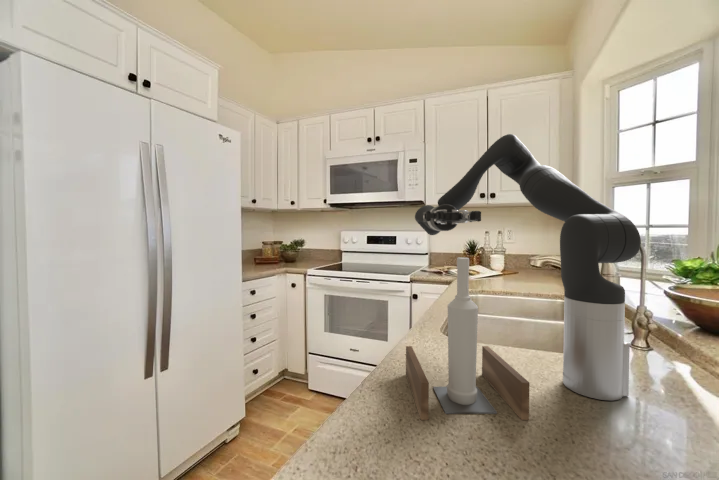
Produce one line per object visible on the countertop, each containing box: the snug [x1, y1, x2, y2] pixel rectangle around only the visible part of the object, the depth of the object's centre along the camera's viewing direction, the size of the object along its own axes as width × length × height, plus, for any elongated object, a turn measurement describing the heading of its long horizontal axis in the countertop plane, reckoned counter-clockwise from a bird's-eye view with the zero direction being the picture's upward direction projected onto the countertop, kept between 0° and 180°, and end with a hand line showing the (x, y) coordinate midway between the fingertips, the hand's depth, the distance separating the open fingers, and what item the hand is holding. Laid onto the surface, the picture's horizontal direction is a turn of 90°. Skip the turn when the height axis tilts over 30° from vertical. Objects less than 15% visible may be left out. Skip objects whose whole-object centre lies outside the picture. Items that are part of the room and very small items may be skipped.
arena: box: [405, 345, 530, 421], centre depth 58 cm, size 17×16×6 cm
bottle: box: [446, 257, 479, 405], centre depth 56 cm, size 5×5×25 cm
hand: (459, 215), depth 76 cm, fingers open, 8 cm apart
